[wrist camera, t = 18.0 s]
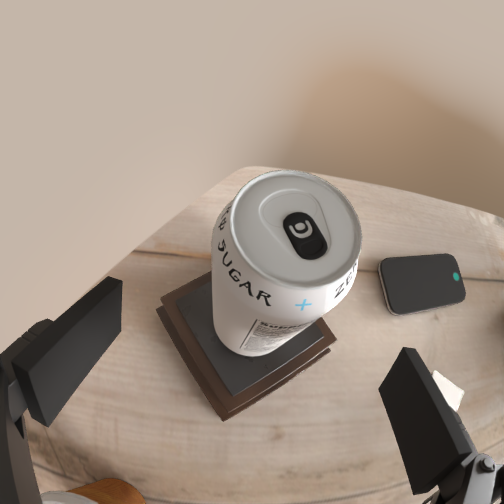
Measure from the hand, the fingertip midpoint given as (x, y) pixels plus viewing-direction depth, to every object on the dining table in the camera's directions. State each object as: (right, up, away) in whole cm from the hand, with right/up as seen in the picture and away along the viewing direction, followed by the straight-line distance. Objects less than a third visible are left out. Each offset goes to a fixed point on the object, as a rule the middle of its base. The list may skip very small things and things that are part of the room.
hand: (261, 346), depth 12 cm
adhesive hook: (+23, -17, +15) cm, 32 cm away
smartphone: (+23, 0, +23) cm, 33 cm away
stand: (-1, -5, +18) cm, 18 cm away
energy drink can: (-1, -2, +11) cm, 11 cm away
